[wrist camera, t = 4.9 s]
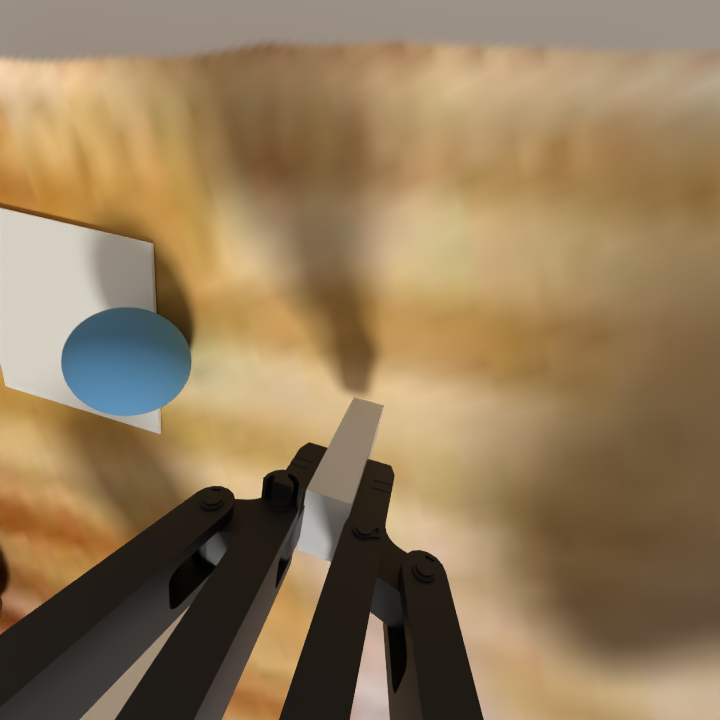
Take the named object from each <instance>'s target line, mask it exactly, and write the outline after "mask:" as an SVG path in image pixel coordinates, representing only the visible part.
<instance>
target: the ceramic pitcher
mask: <svg viewBox="0 0 720 720" xmlns="http://www.w3.org/2000/svg"><path fill="white" fill-rule="evenodd" d="M1 612H2V599H1V595H0V617H1Z"/></svg>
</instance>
